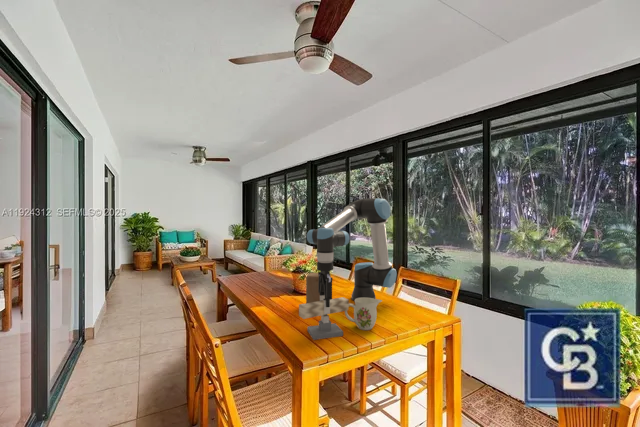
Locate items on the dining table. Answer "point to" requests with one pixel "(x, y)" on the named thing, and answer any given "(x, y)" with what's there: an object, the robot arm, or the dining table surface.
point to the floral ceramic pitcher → (364, 312)
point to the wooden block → (312, 288)
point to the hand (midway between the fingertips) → (324, 311)
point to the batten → (322, 307)
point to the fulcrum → (324, 329)
